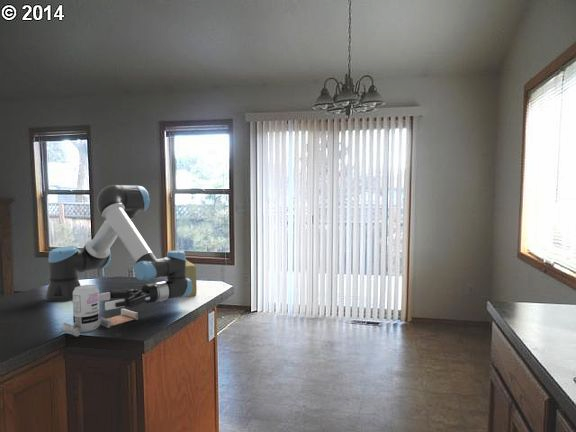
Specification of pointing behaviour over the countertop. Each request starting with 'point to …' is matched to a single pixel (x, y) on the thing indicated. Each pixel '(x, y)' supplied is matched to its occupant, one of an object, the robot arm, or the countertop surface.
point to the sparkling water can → (86, 308)
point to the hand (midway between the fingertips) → (98, 302)
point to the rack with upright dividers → (105, 321)
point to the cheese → (191, 277)
